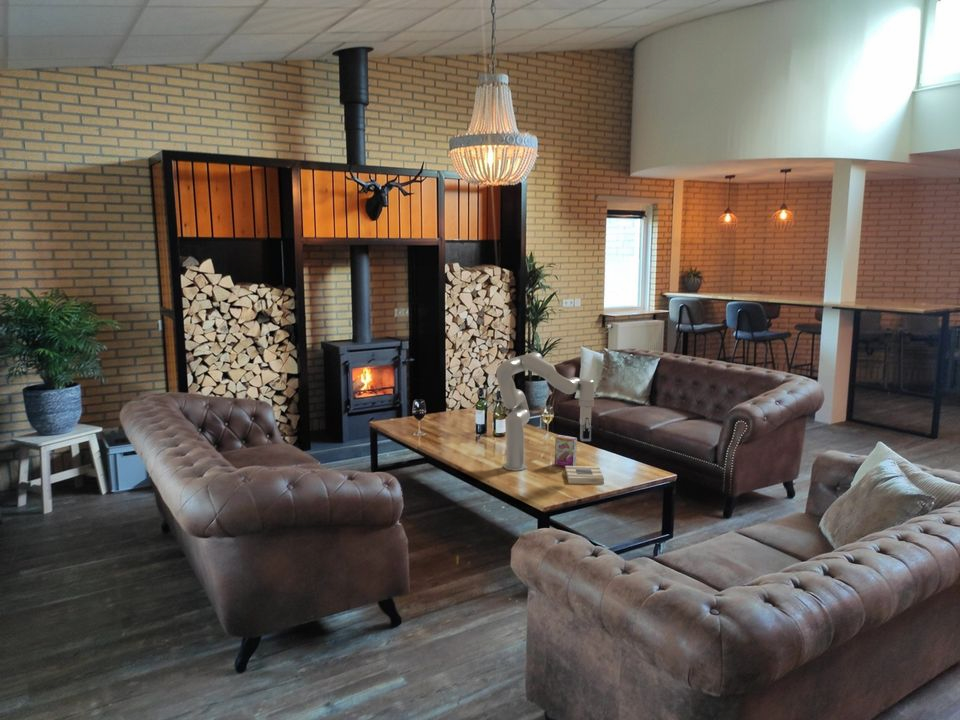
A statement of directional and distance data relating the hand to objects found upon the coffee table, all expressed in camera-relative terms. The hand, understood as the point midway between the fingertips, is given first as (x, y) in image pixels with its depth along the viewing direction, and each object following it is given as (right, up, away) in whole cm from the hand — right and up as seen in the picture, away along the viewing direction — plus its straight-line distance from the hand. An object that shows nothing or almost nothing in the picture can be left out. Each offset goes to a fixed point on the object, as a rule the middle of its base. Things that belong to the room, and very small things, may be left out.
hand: (585, 436), depth 371 cm
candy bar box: (-8, -19, +23) cm, 31 cm away
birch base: (0, -22, +3) cm, 22 cm away
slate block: (0, -2, 0) cm, 2 cm away
